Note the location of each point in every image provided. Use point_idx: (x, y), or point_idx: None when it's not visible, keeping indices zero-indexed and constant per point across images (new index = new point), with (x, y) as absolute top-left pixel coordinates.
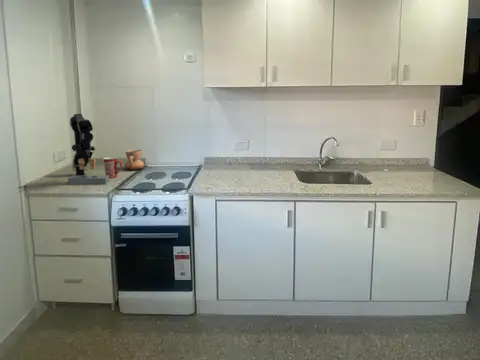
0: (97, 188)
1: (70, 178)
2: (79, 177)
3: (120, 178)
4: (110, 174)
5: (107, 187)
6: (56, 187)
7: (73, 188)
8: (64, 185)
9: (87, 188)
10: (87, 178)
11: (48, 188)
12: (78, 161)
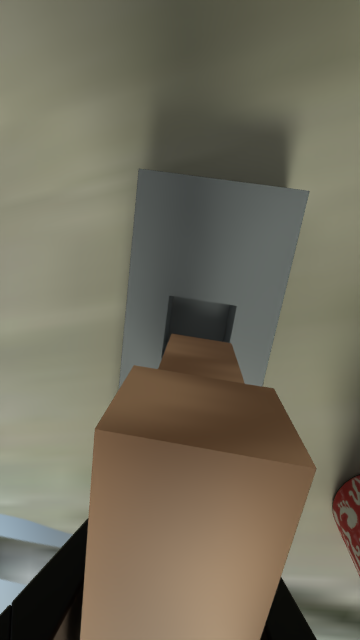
0: (7, 431)
1: (141, 203)
2: (183, 297)
3: (298, 556)
4: (346, 531)
5: (32, 485)
6: (52, 91)
7: (10, 264)
8: (126, 156)
9: (8, 368)
10: (119, 381)
11: (14, 9)
12: (116, 396)
